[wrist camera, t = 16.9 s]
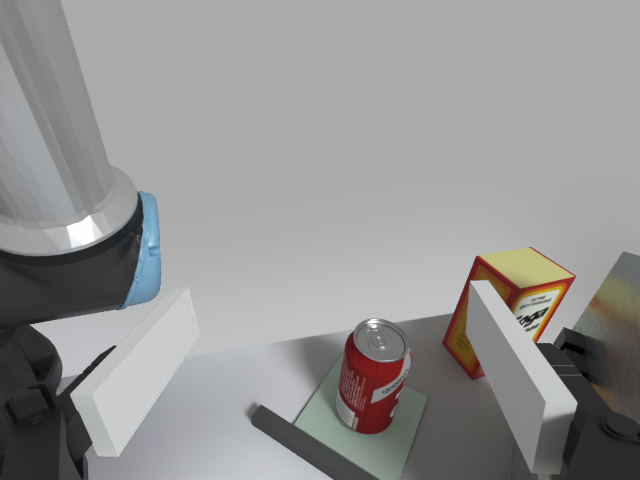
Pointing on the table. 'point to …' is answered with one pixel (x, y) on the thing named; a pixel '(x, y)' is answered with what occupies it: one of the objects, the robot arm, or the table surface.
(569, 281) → the baking soda box
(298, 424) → the mat
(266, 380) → the table surface
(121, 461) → the table surface
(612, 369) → the breaker panel
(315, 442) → the bar
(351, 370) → the soda can
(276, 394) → the table surface
